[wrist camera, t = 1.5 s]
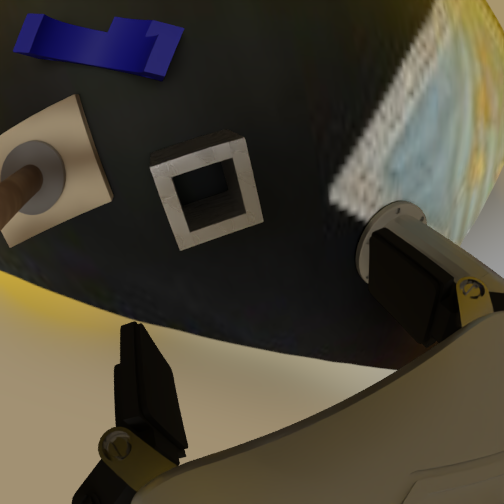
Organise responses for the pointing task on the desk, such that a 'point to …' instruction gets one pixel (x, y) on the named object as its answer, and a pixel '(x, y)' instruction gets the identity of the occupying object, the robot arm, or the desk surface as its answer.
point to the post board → (49, 171)
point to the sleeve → (214, 207)
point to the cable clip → (102, 44)
